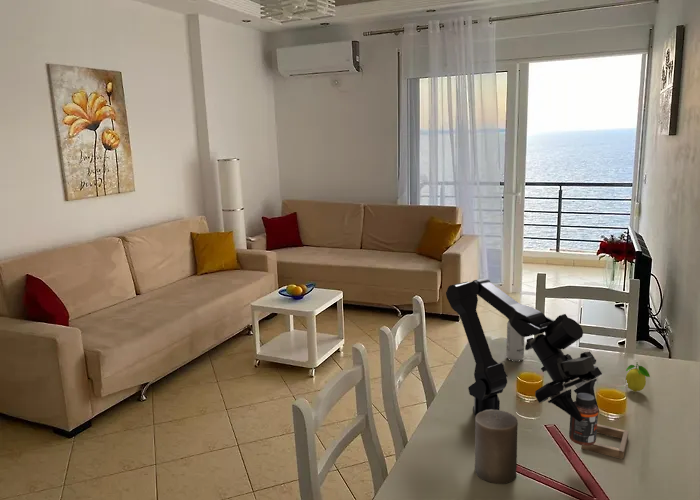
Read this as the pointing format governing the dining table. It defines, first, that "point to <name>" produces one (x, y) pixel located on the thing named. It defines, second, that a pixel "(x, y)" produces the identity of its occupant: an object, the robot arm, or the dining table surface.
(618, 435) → the bay
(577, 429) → the supplement bottle
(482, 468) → the pillar candle
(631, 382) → the lemon
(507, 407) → the dining table surface
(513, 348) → the energy drink can
